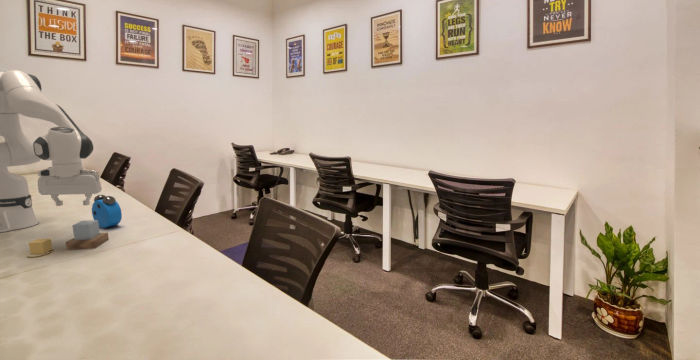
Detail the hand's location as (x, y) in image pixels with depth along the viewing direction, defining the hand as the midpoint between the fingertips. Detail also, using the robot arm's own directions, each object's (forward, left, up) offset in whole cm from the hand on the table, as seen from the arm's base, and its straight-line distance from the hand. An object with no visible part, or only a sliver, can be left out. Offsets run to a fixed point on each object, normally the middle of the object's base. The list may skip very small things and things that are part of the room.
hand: (73, 205), depth 134 cm
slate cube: (+3, +1, -14) cm, 14 cm away
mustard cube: (-10, -5, -17) cm, 20 cm away
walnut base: (+3, +1, -17) cm, 17 cm away
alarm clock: (-1, +24, -17) cm, 29 cm away
